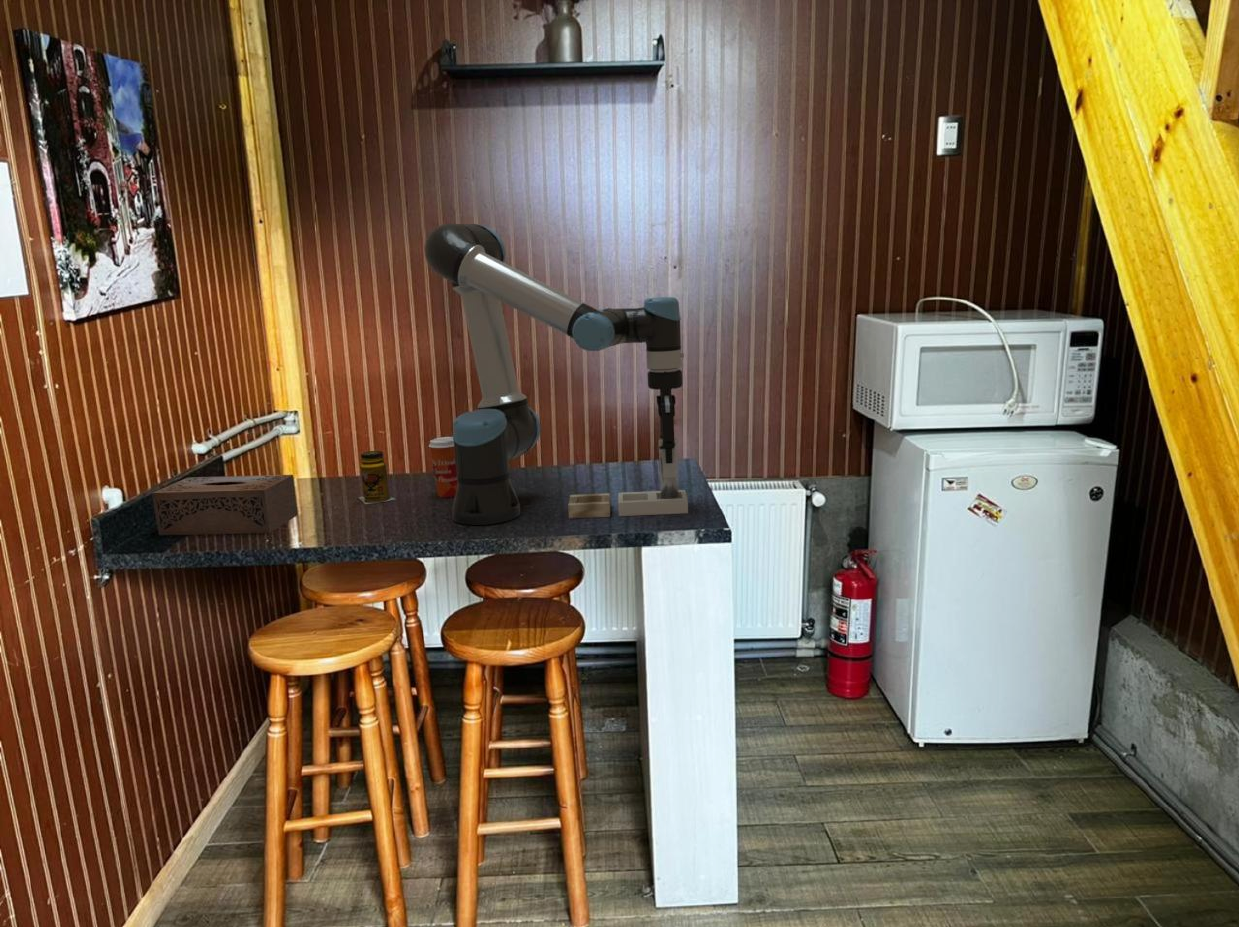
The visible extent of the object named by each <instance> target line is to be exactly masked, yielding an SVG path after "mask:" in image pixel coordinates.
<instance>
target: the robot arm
mask: <svg viewBox="0 0 1239 927" xmlns="http://www.w3.org/2000/svg"><path fill="white" fill-rule="evenodd" d="M424 256H425V259H426V262H427V265H428V266H429V268H430V269H431V270H432V271H433V272H434V273H436V274H437V275H438V276H439V277H441V278H443V279H445V280H447V281H450V282H451V287H452V290H453V291H455V292H456V293H458V295H459V296H461V301H462V306H463V310H464V315H465V319H466V325H467V329H468V334H469V339H470V344H471V348H472V353H473V357H474V363H475V368H476V373H477V377H478V382H479V385H480V386H479V387H480V391H481V397H482V398H481V399H480V402H479V403H478V405H477V408H478V409H475V410H473V411H467V412H464V413H462V414H460V415H458V416H457V417H456V418H455V419H454V421H453V424H452V430H453V431H452V437H453V440H454V449H455V459H456V470H457V480H458V487H457V491H456V495H455V496H454V500H453V505H452V509H451V511H452V512H451V513H452V521H453V522H455V523H458V524H461V525H469V526H485V525H486V526H487V525H495V524H501V523H505V522H508V521H511V520H514V519H516V518H518V517H520V515H521V504H520V500H519V499H518V496H517V494H516V491H515V489H514V486H513V484H512V482H511V476H510V475H511V473H510V472H511V471H510V461H511V460H513V459H515V458H517V457H521V456H523V455H525V454H526V453H528V452H529V451H530V450H531V449H533V448H534V446H535V445H536V444H537V442H538V441H539V438H540V434H541V421H540V418H539V417H538V415H537V413H536V412H535V410H533V409H532V408H531V407H530V406H529V402H528V398H527V396H526V395H525V394H524V393H522V391H520V390H519V385H518V380H517V375H516V371H515V365H514V360H513V356H512V351H511V346H510V345H511V344H510V340H509V336H508V330H507V326H506V321H505V316H504V313H503V307H502V303H503V304H505V305H507V306H510V307H511V308H513V309H514V310H515V309H516V310H517V311H519V312H521V313H523V314H525V315H526V316H529V317H531V318H533V319H534V320H536V321H539V322H540V323H542V324H544V325H547V326H548V327H551V328H552V329H555V330H556V331H558V332H560V333H562V334H564V335H565V336H567V337H570V338H572V339H573V341H574V342H575V343H576V344H577V346H578V347H579V348H581V349H582V350H584V351H587V352H598V351H602V350H604V349H606V348H610V347H615V346H617V345H621V344H637V343H639V344H642V343H645V345H646V346H645V349H646V351H645V354H646V355H645V357H646V368H647V369H648V370H649V371H648V372H647V387H648V388H649V389H650V390H654V391H655V390H657V391H658V390H659V395H656V404H657V411H658V412H657V413H658V416H659V420H660V421H659V422H660V436H659V437H660V439H663V445H662V446H659V445H658V449H659V448H660V449H662V457H663V478H668V477H676V470H675V448H674V447H675V443H674V438H675V419H674V417H675V416H676V415H675V414H676V412H675V411H676V410H675V409H676V408H675V405H676V396H675V394H672V390H673V389H679V388H682V386H683V384H684V383H683V371H682V369H680V368H682V358H685V354H684V353H683V352H682V341H681V339H682V338H681V337H682V336H681V315H680V314H681V312H680V303H679V300H678V299H677V297H674V296H673V297H672V296H664V297H649V298H645V300H644V304H643V307H635V308H633V307H631V308H630V307H629V308H625V307H624V308H610V307H609V308H603V309H597V308H594V307H593V306H590V305H588V304H586V303H585V302H583V301H581V300H579V299H578V298H575V297H573V296H571V295H569V294H567V293H565V292H563V291H561V290H559V289H557V288H555V287H553V286H552V285H549V284H547V283H545V282H543V281H541V280H539V279H537V278H535V277H533V276H531V275H529V274H528V273H525V272H523V271H522V270H519V269H517V268H515V267H514V266H512V265H509V264H507V263H506V262H505V261H506V248H505V245H504V242H503V240H502V238H501V237H500V235H499V234H498V233H497V232H496V231H495V230H493V229H492V228H490V227H489V226H488V227H487V226H485V225H481V224H477V223H471V224H470V223H469V224H468V223H466V224H465V223H463V224H462V223H445V224H441V225H439V226H438V227H436V228H434V229H433V230H432V231H431V232H430V233H429V235H428V236H427V238H426V241H425V244H424ZM681 352H682V353H681Z"/></svg>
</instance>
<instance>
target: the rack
mask: <svg viewBox="0 0 1239 927" xmlns="http://www.w3.org/2000/svg"><path fill="white" fill-rule="evenodd" d="M617 495H618V499H617V500H618V501H617V505H618V506H617V507H618V517H628V516H629V517H630V516H631V517H632V516H633V517H634V516H652V515H656V516H657V515H658V516H659V515H674V514H675V515H676V514H689V503H688V502H689V501H688V496H687V493H686V490H685V489H679V497H678V498H675V499H663V498H661V490H653V491H651V490H649V491H633V492H632V491H629V492H618V494H617Z"/></svg>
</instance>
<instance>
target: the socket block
mask: <svg viewBox="0 0 1239 927" xmlns="http://www.w3.org/2000/svg"><path fill="white" fill-rule="evenodd" d="M567 506H568V507H567V508H568V519H585V518H586V519H589V518H590V519H591V518H610V517H611V494H610V493H607V492H606V493H587V494H585V493H584V494H583V493H582V494H570V495H569V499H568V504H567Z"/></svg>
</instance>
